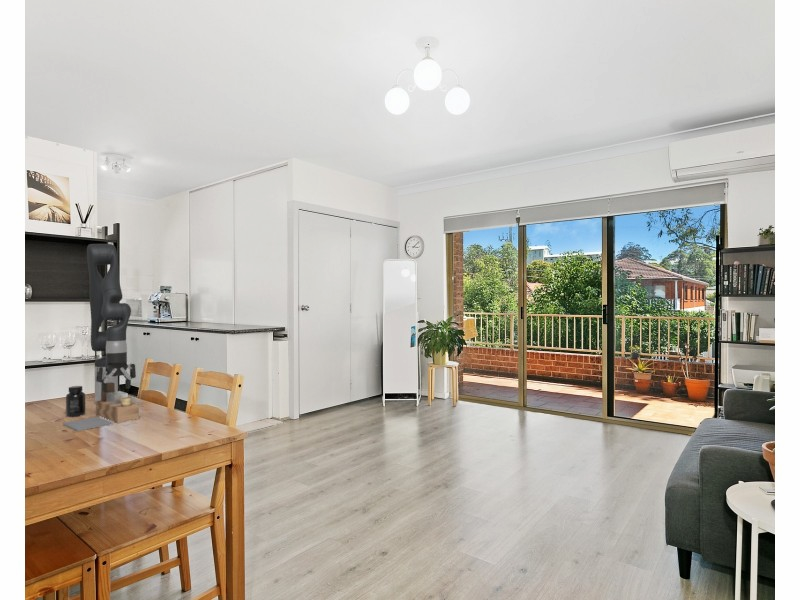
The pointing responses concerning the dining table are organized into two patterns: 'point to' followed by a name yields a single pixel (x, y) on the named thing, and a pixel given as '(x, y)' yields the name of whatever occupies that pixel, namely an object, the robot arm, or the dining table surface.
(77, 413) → the supplement bottle
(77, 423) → the mat
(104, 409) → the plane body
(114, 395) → the white rectangular block
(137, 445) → the dining table surface
